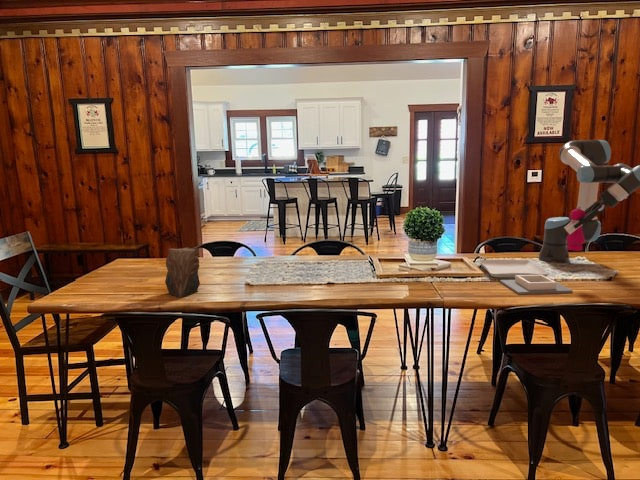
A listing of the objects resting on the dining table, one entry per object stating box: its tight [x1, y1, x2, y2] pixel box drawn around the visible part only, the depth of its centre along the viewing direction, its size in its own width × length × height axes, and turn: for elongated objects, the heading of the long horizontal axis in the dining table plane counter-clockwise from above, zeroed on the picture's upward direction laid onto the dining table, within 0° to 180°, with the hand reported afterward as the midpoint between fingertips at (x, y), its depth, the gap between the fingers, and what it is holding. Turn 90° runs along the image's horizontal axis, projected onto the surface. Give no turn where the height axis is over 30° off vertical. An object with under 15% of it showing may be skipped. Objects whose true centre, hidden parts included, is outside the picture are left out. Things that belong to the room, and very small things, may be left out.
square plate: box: [477, 259, 550, 279], centre depth 230 cm, size 27×27×4 cm
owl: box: [164, 246, 201, 299], centre depth 203 cm, size 13×13×20 cm
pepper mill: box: [566, 206, 586, 252], centre depth 207 cm, size 7×7×20 cm
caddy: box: [499, 275, 573, 295], centre depth 206 cm, size 18×24×4 cm
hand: (567, 230), depth 208 cm, fingers closed on pepper mill, 5 cm apart
